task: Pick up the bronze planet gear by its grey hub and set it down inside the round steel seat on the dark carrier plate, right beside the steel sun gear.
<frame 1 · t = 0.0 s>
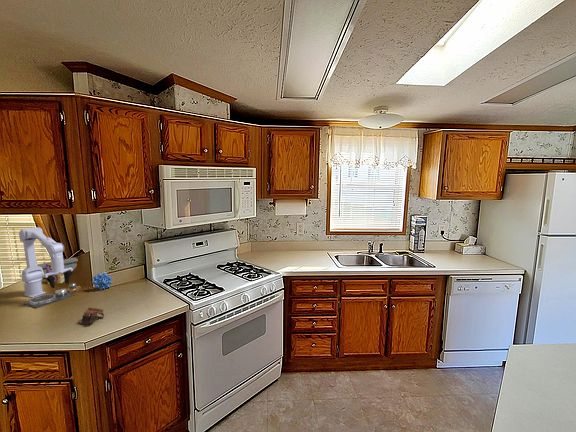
hand: (60, 285, 175), 10 cm above the countertop, tool pointing down, fingers open, 7 cm apart
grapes: (103, 290, 194), on the countertop
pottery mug: (93, 322, 151), on the countertop
planet gear: (73, 290, 194), on the countertop
candy box: (56, 283, 208), on the countertop
gear carrier: (49, 299, 179), on the countertop
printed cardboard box: (58, 275, 224), on the countertop
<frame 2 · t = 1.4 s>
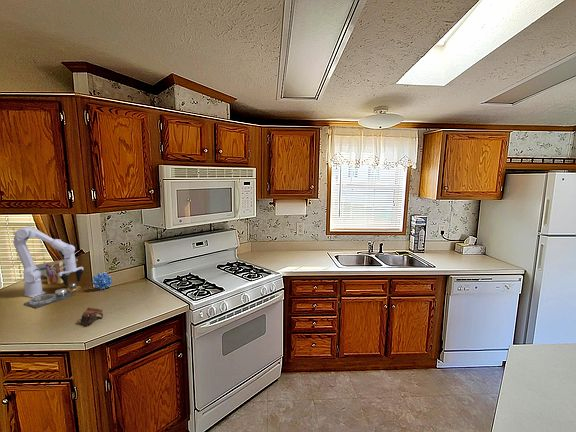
hand: (72, 283, 193), 5 cm above the countertop, tool pointing down, fingers open, 7 cm apart
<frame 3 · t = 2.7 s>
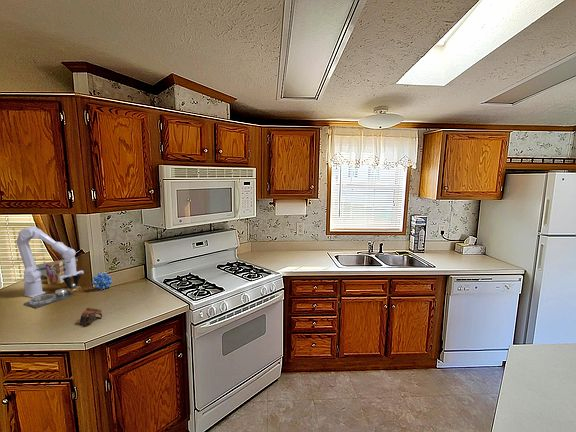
hand: (72, 286, 194), 2 cm above the countertop, tool pointing down, fingers closed on planet gear, 4 cm apart
planet gear: (73, 290, 194), on the countertop, touching gripper
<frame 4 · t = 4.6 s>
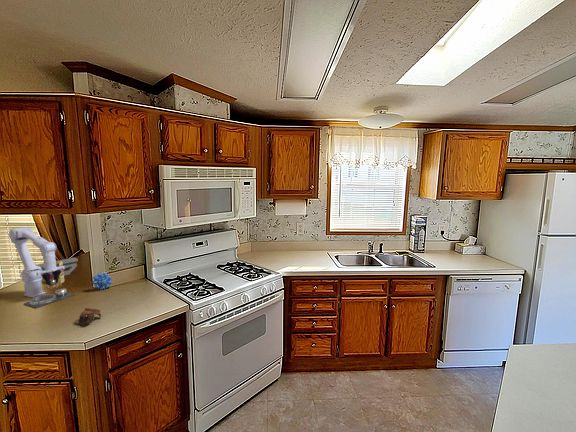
hand: (52, 283, 180), 9 cm above the countertop, tool pointing down, fingers closed on planet gear, 4 cm apart
planet gear: (53, 286, 181), point 7 cm above the countertop, touching gripper
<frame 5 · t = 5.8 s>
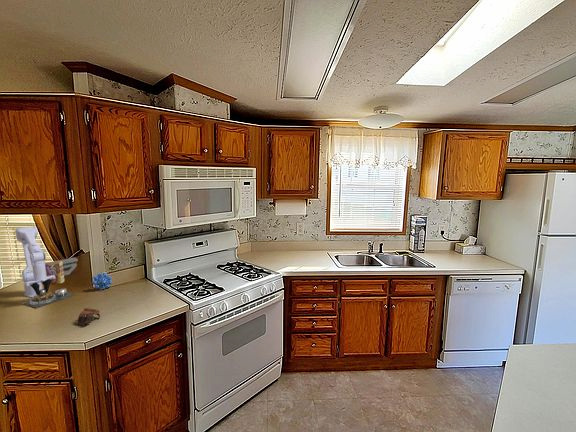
hand: (42, 293, 175), 5 cm above the countertop, tool pointing down, fingers closed on planet gear, 4 cm apart
planet gear: (42, 297, 175), point 3 cm above the countertop, touching gripper
when the fingers open (5 cm above the countertop, at t = 6.7 s): planet gear drops 2 cm, resting on gear carrier.
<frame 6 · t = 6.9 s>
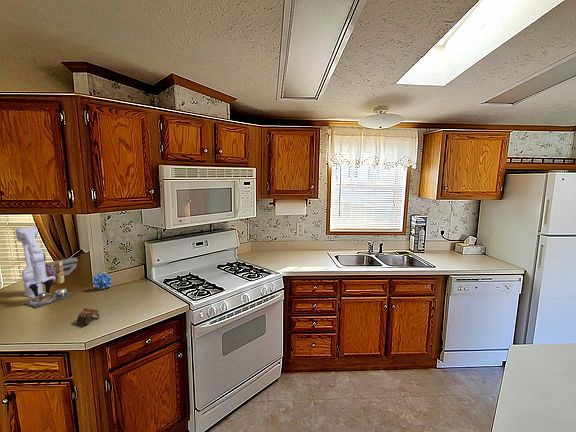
hand: (42, 294, 175), 5 cm above the countertop, tool pointing down, fingers open, 5 cm apart
planet gear: (43, 300, 175), point 1 cm above the countertop, touching gear carrier
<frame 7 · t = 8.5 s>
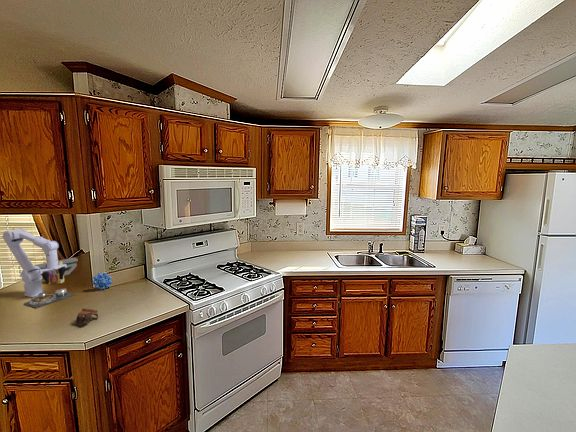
hand: (54, 281, 184), 9 cm above the countertop, tool pointing down, fingers open, 7 cm apart
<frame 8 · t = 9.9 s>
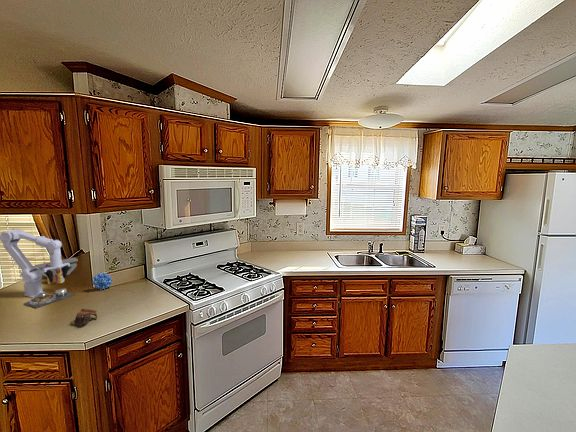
hand: (58, 279, 187), 9 cm above the countertop, tool pointing down, fingers open, 7 cm apart
at the end: planet gear 0.1 cm from the target spot on the gear carrier, point 1.0 cm above the gear carrier's base; planet gear tilted 0°; the gripper is holding nothing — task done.
